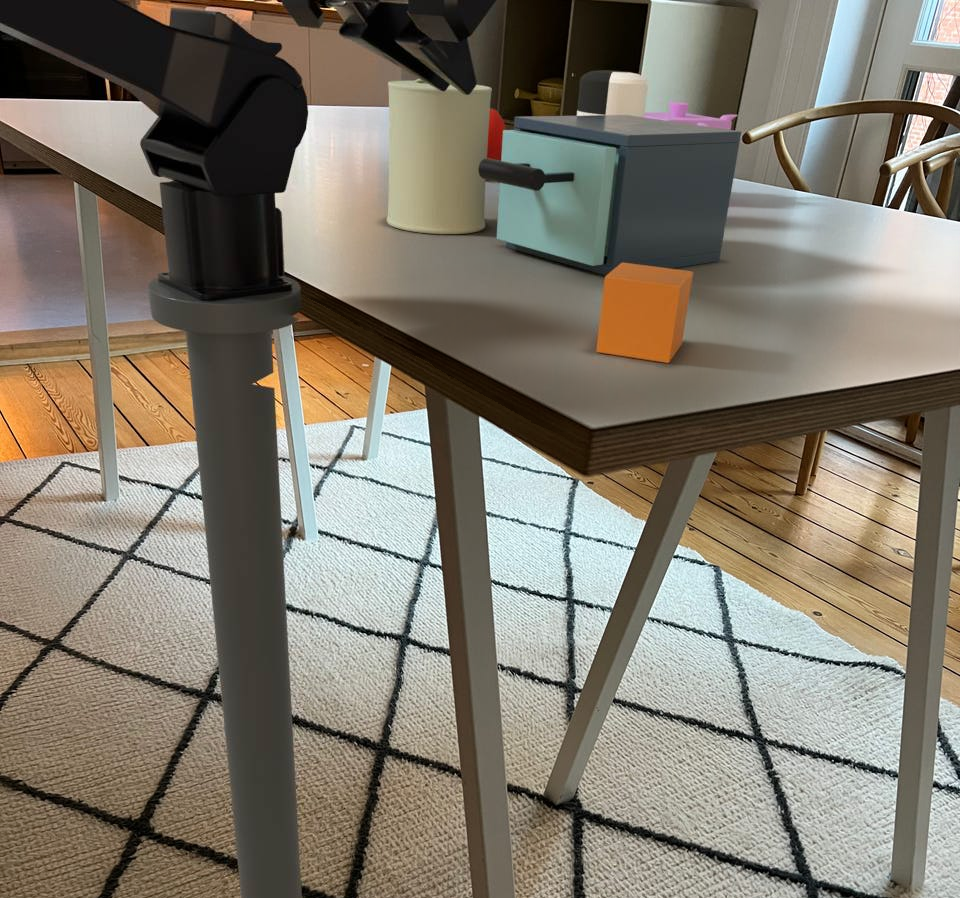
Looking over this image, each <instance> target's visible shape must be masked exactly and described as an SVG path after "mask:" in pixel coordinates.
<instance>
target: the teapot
mask: <svg viewBox="0 0 960 898" xmlns="http://www.w3.org/2000/svg"><path fill="white" fill-rule="evenodd" d="M689 106H690V104H689V103H688V102H684V101H683V102H682V101H670V102H669V103H668V108H669V112H645V113H644V117H645V118H652V119H658V120H665V121H672V122H679V123H686V124H693V125H700V126H707V127H713V128H720V129H727V130H732V124H733V121H732V120H734V119H735V118H737V117H738V116H739V115H738V114H723V115H721V116H720V117H712V116H706V115H700V114H695V113H694V114H693V113H688V110H689Z"/></svg>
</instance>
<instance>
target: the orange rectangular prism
mask: <svg viewBox="0 0 960 898" xmlns="http://www.w3.org/2000/svg"><path fill="white" fill-rule="evenodd" d="M604 276H605V275H604ZM693 276H694V272H693V271H691V270H685V269H677V268H671V269H669V268H662V267H654V266H646V265H638V264H630V263H621V264H620V265H618V266H617V267H616V268H615V269H614V270H612V271H611V272H610V273H609V274H608V275H606V276H605V277H604V283H603V290H602V299H601V309H600V315H599V316H600V317H599V324H598V334H597V341H596V350H595V351H596V353H599V354H604V355H605V354H606V355H612V356H617V357H618V356H619V357H626V358H631V359H632V358H633V359H638V360H645V361H650V362H651V361H652V362H656V363H657V362H659V363H664V364H669V363H670V362H671V360H672V359H673V358H674V356H675V354H676V353H677V352H678V351H679V349H680V347H681V346H682V345H683V339H684V333H685V326H686V320H687V313H688V308H689V302H690V295H691V289H692V283H693Z"/></svg>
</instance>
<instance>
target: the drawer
mask: <svg viewBox="0 0 960 898" xmlns="http://www.w3.org/2000/svg"><path fill="white" fill-rule="evenodd" d="M619 150H620V146H619V145H613V144H607V143H601V142H595V141H590V140H584V139H578V138H572V137H566V136H561V135H555V134H549V133H528V132H522V131H517V130H514V129H506V130H503V141H502V157H501V161H499V160H494V159H489V158H485V159H483V160H482V161H481V162H480V164H479V169H478V171H479V175H480V177H481V178H483V179H486V181H490V182H495V183H499V189H498V190H499V191H498V192H499V193H498V207H497V208H498V210H497V222H496V223H497V225H496V226H497V227H496V240H498V241H503V242H509V243H513V244H516V245H520V246H523V247H527V248H530V249H534V250H538V251H541V252H545V253H548V254H552V255H555V256H559V257H563V258H566V259H570V260H573V261H577V262H580V263H584V264H588V265H591V266H596V265H603V261H604V256H606V257H607V253H608V245H609V236H610V227H611V219H612V210H613V202H614V193H615V185H616V176H617V167H618V159H619Z"/></svg>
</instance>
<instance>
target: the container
mask: <svg viewBox="0 0 960 898" xmlns="http://www.w3.org/2000/svg"><path fill="white" fill-rule="evenodd" d="M648 89H649V83H648V80H647V79H646V78H645V77H644V76H642V75H641V74H639V73H636V72H635V73H634V72H630V71H625V70H624V71H621V70H611V69H609V70H606V69H605V70H603V69H601V70H590V71H589V72H587V73H584V74H583V75H582V76H581V77H580V78H579V88H578V97H577V98H578V99H577V109H576V116H591V115H631V116H638V117H644V113H646V104H647V96H648Z"/></svg>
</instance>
